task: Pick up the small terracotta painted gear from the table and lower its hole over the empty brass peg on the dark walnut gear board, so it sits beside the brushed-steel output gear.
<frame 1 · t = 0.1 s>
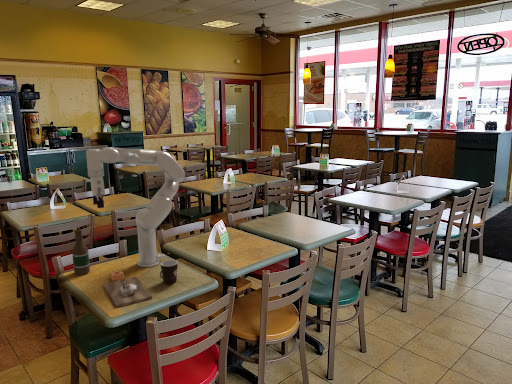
hand: (98, 206, 204), 37 cm above the table, tool pointing down, fingers open, 9 cm apart
beer bottle: (82, 273, 211), on the table
terracotta gear: (117, 278, 203), on the table
coffee mug: (167, 282, 198), on the table
gear board: (127, 292, 187), on the table
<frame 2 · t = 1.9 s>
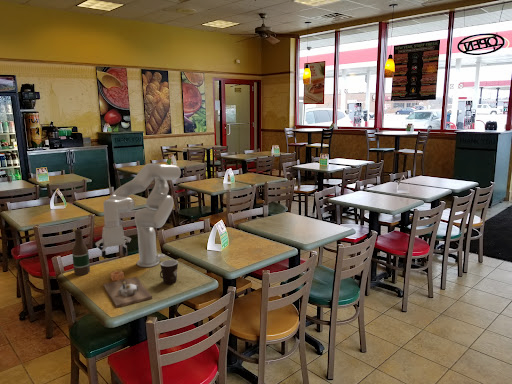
hand: (114, 256, 200), 12 cm above the table, tool pointing down, fingers open, 9 cm apart
nothing on the table moved.
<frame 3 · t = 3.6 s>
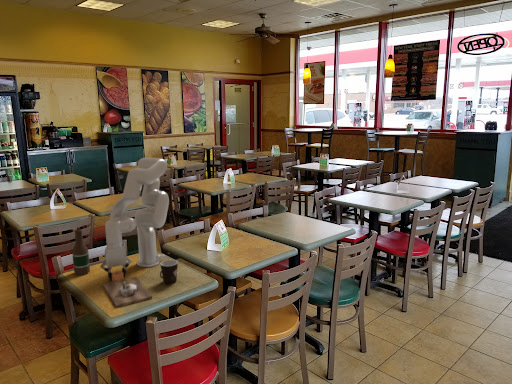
hand: (117, 277, 203), 1 cm above the table, tool pointing down, fingers closed on terracotta gear, 6 cm apart
terracotta gear: (117, 278, 203), on the table, touching gripper
everything else where it was.
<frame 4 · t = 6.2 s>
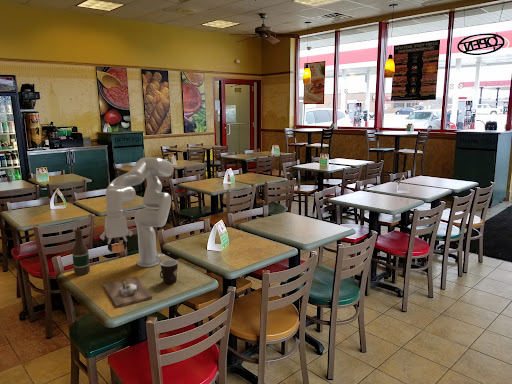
hand: (117, 249, 193), 18 cm above the table, tool pointing down, fingers closed on terracotta gear, 6 cm apart
terracotta gear: (117, 250, 193), point 18 cm above the table, touching gripper
everything else where it was.
when the fingers open (3 cm above the table, at t = 9.4 s): terracotta gear stays where it is, resting on gear board.
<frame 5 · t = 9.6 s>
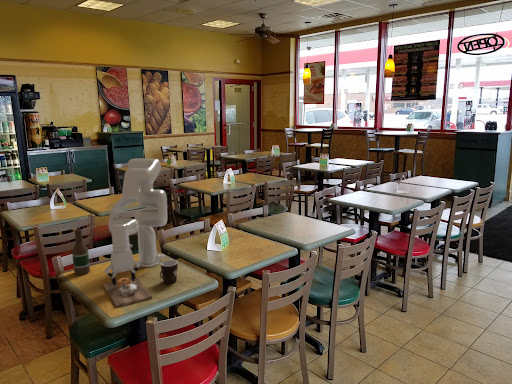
hand: (123, 282, 191), 3 cm above the table, tool pointing down, fingers open, 8 cm apart
terracotta gear: (124, 286, 191), point 1 cm above the table, touching gear board
everything else where it was.
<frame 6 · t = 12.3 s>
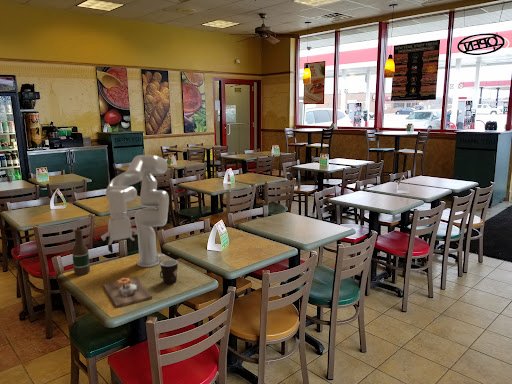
hand: (121, 250, 188), 20 cm above the table, tool pointing down, fingers open, 9 cm apart
nothing on the table moved.
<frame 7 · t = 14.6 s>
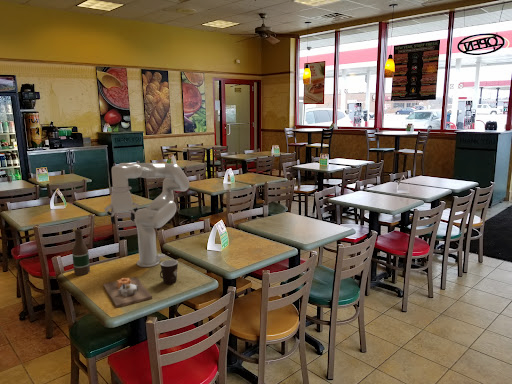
hand: (123, 222, 204), 28 cm above the table, tool pointing down, fingers open, 9 cm apart
nothing on the table moved.
at the end: terracotta gear 0.1 cm from the target spot on the gear board, point 1.2 cm above the gear board's base; terracotta gear tilted 0°; the gripper is holding nothing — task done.
